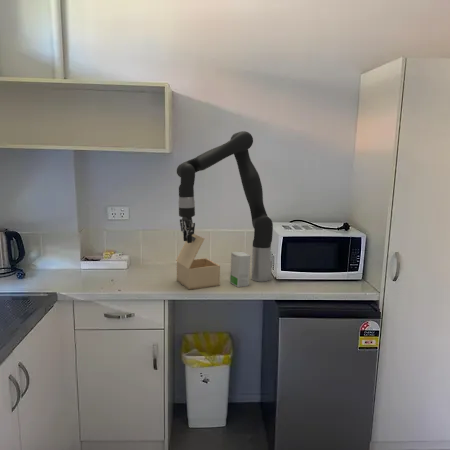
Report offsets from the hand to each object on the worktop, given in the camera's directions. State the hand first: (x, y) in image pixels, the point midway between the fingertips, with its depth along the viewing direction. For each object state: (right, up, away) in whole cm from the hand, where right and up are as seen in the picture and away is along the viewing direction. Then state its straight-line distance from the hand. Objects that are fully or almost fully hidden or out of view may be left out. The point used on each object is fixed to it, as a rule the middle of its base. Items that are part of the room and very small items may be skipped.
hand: (187, 241), depth 196 cm
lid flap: (+1, -4, +1) cm, 5 cm away
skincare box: (+25, -21, +6) cm, 33 cm away
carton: (+4, -21, +6) cm, 22 cm away
